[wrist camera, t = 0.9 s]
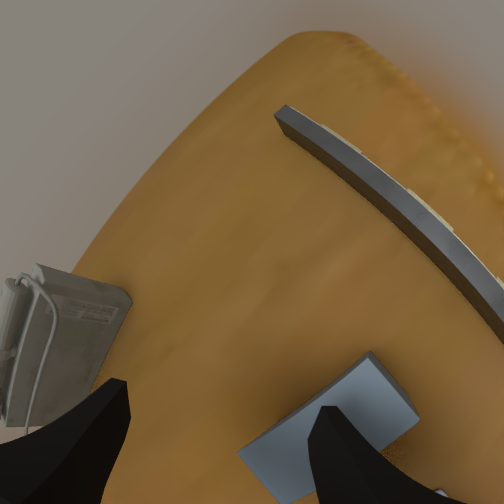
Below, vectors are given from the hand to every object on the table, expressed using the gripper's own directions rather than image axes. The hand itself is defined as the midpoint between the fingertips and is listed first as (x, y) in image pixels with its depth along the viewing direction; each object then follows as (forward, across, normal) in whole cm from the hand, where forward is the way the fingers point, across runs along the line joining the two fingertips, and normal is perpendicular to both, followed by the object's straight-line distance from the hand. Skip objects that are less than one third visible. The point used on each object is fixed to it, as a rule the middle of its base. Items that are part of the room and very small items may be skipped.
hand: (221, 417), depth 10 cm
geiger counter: (+17, +15, +16) cm, 28 cm away
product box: (+7, -9, +6) cm, 13 cm away
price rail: (+12, -13, -7) cm, 18 cm away
